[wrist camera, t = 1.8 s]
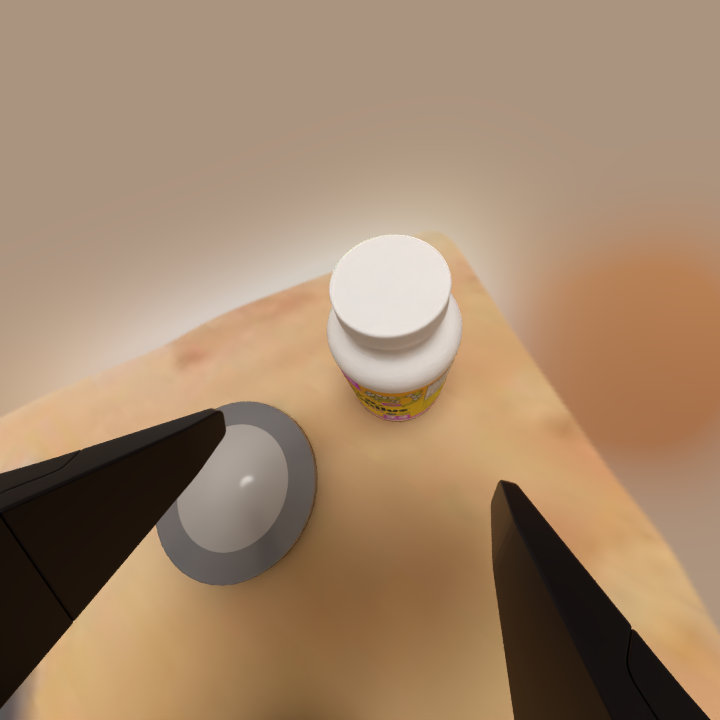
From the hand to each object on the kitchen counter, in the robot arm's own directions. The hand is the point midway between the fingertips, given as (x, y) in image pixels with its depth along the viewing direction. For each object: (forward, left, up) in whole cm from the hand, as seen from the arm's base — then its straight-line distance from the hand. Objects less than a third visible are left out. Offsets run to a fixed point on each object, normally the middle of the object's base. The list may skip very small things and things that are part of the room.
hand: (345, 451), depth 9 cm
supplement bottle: (+6, +1, -13) cm, 14 cm away
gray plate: (-5, +10, -13) cm, 16 cm away
